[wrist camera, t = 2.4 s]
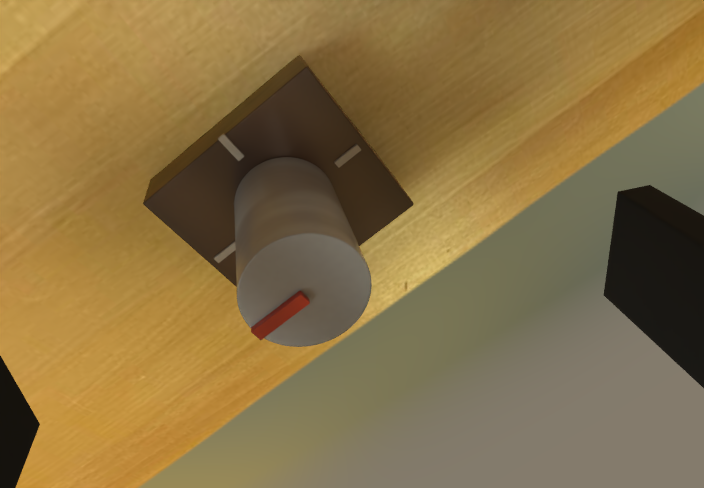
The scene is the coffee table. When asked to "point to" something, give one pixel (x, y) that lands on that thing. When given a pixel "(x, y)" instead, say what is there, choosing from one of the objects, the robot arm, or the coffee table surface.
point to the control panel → (268, 143)
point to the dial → (296, 255)
